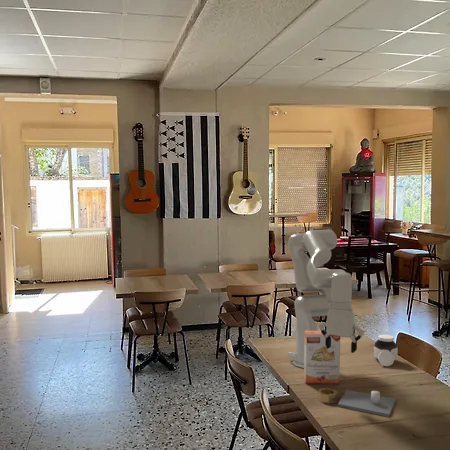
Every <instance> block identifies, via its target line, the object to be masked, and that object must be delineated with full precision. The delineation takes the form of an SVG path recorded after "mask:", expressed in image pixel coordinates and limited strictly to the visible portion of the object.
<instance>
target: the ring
mask: <svg viewBox="0 0 450 450" xmlns="http://www.w3.org/2000/svg"><path fill="white" fill-rule="evenodd" d="M317 400H318V401H319V402H321V403H323V404H334V403H336V402H337V400H338V391H336V390H335V389H333V388H329V387H325V388H323V387H322V388H319V389H318V391H317Z"/></svg>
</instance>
